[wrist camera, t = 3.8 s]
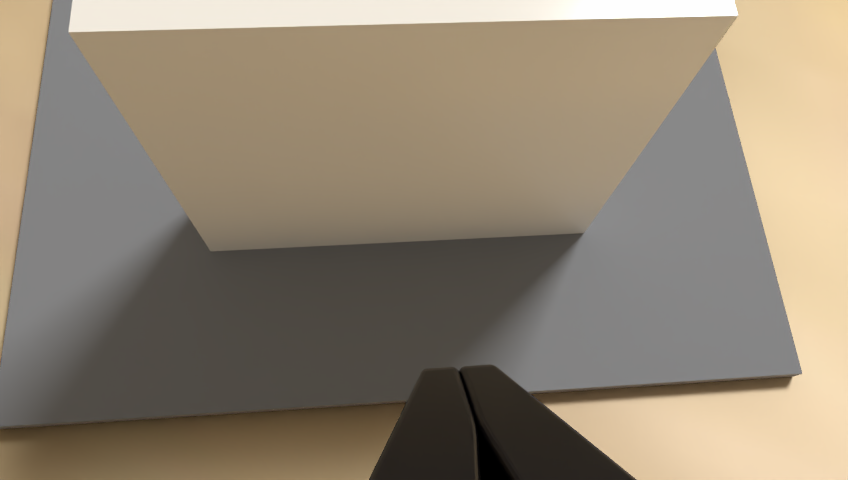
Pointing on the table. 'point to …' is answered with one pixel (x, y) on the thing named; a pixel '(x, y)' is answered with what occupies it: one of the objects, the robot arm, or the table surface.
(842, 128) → the table surface
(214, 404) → the mat
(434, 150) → the tile
